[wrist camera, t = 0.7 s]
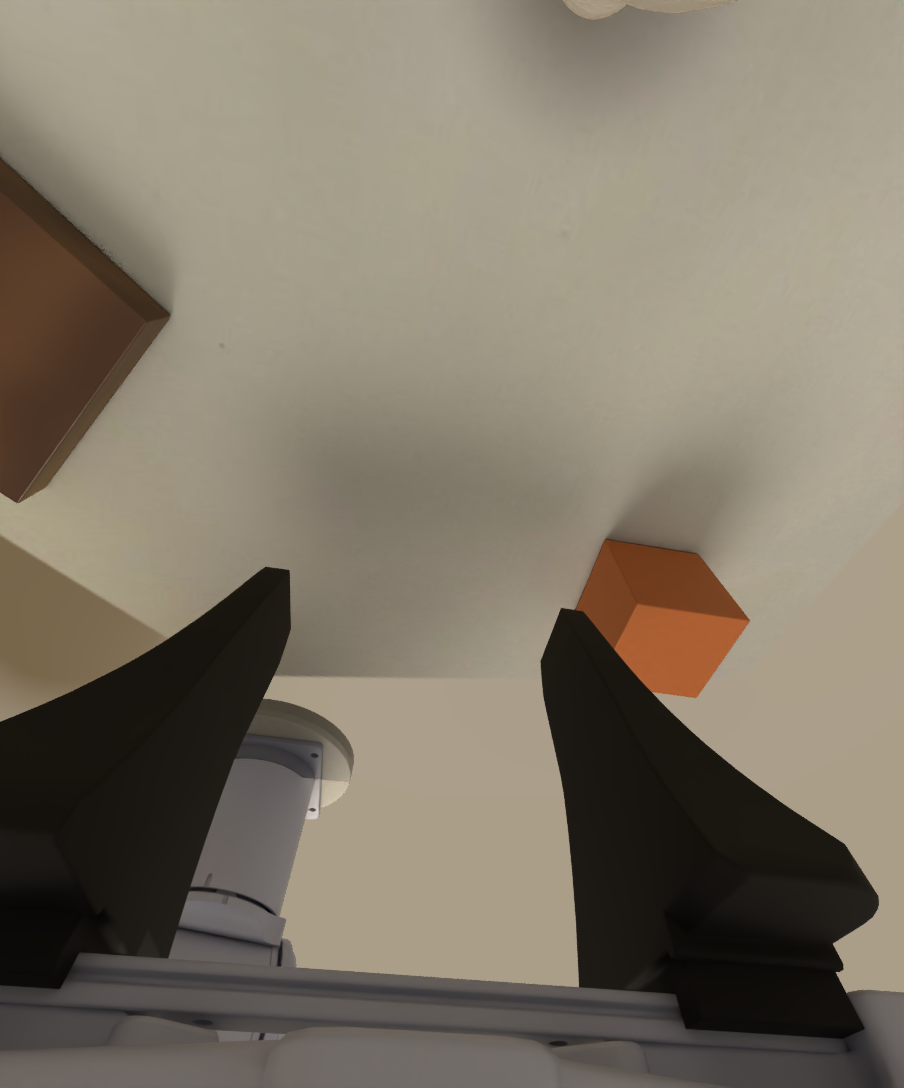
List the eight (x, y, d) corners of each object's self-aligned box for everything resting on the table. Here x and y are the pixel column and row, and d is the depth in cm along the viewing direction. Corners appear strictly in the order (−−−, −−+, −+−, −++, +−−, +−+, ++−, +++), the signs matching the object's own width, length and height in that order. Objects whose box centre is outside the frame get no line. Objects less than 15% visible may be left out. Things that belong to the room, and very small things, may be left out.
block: (658, 626, 24) (696, 698, 20) (573, 613, 23) (595, 685, 20) (699, 554, 21) (751, 620, 18) (605, 538, 21) (637, 603, 17)
